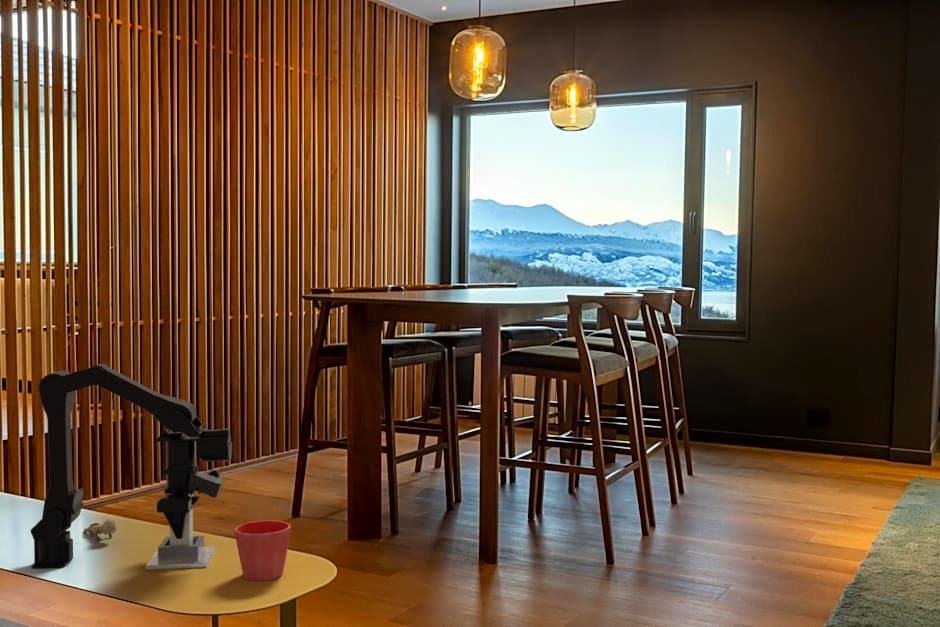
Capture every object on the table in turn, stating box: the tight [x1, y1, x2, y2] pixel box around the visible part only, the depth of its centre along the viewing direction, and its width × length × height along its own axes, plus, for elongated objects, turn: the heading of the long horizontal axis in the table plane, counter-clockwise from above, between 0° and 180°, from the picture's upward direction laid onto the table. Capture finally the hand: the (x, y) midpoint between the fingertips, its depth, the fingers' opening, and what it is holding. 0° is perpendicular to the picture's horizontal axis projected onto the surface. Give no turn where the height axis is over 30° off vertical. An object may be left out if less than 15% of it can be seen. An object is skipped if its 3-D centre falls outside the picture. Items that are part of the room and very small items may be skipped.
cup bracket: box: [145, 535, 217, 570], centre depth 195 cm, size 12×12×4 cm
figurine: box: [83, 518, 117, 542], centre depth 211 cm, size 4×4×15 cm
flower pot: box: [234, 519, 292, 581], centre depth 185 cm, size 11×11×10 cm
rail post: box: [169, 505, 194, 546], centre depth 195 cm, size 4×4×9 cm
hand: (181, 535), depth 195 cm, fingers closed on rail post, 4 cm apart
